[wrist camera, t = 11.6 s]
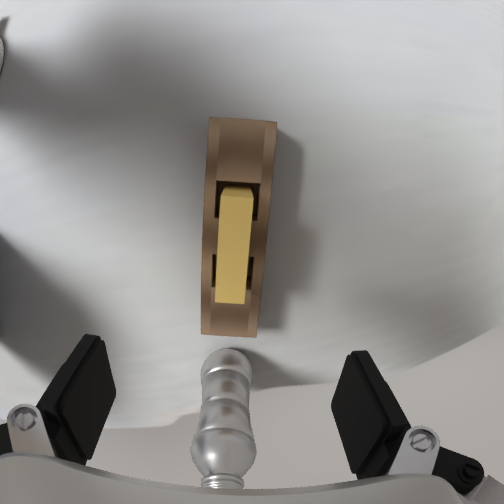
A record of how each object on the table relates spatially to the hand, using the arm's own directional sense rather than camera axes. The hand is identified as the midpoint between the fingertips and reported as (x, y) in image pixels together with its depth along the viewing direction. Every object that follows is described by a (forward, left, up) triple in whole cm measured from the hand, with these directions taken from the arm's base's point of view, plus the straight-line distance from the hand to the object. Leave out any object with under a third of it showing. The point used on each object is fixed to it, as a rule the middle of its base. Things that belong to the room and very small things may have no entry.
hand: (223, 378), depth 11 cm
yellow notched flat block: (0, 0, -23) cm, 23 cm away
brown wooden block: (0, 0, -23) cm, 23 cm away
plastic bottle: (+18, 0, -23) cm, 29 cm away
